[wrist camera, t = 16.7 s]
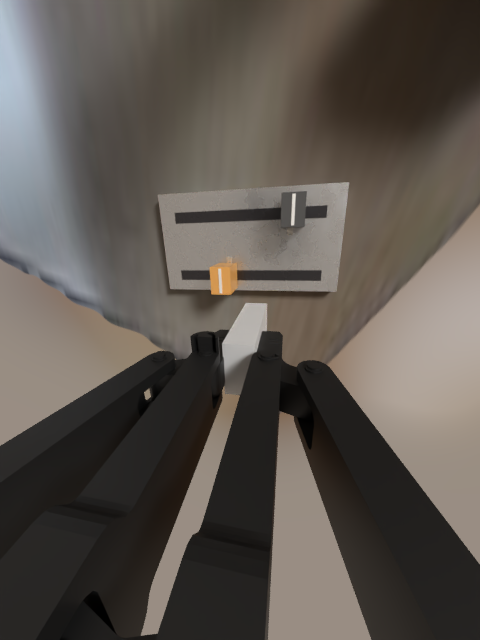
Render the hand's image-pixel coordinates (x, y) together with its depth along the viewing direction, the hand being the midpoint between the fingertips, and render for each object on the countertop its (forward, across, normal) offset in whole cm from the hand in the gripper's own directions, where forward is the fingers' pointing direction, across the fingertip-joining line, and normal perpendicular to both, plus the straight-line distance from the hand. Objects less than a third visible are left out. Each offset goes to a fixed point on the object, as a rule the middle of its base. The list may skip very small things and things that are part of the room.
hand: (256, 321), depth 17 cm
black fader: (+22, +2, +9) cm, 24 cm away
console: (+24, -4, +4) cm, 25 cm away
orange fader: (+22, -7, 0) cm, 23 cm away
